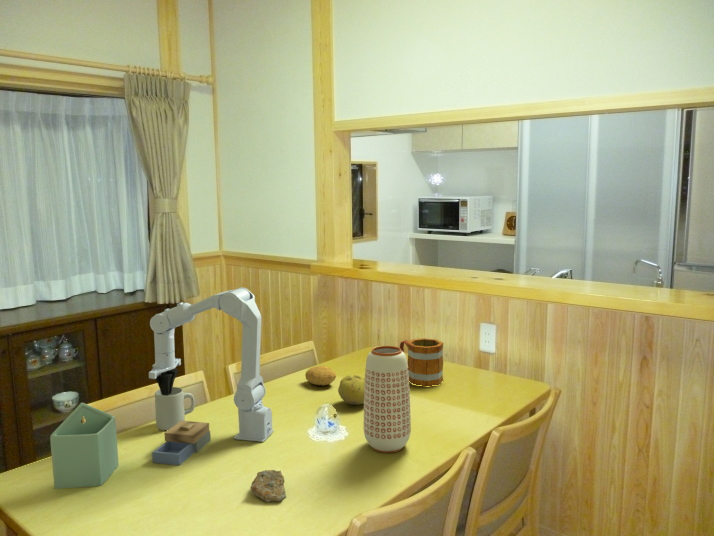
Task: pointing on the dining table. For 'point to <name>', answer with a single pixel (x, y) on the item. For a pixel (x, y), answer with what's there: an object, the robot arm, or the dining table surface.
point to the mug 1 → (171, 408)
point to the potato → (320, 375)
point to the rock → (269, 485)
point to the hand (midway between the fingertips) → (166, 394)
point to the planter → (84, 449)
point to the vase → (387, 399)
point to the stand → (202, 442)
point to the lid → (187, 432)
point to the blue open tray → (172, 453)
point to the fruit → (352, 389)
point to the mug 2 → (424, 361)
